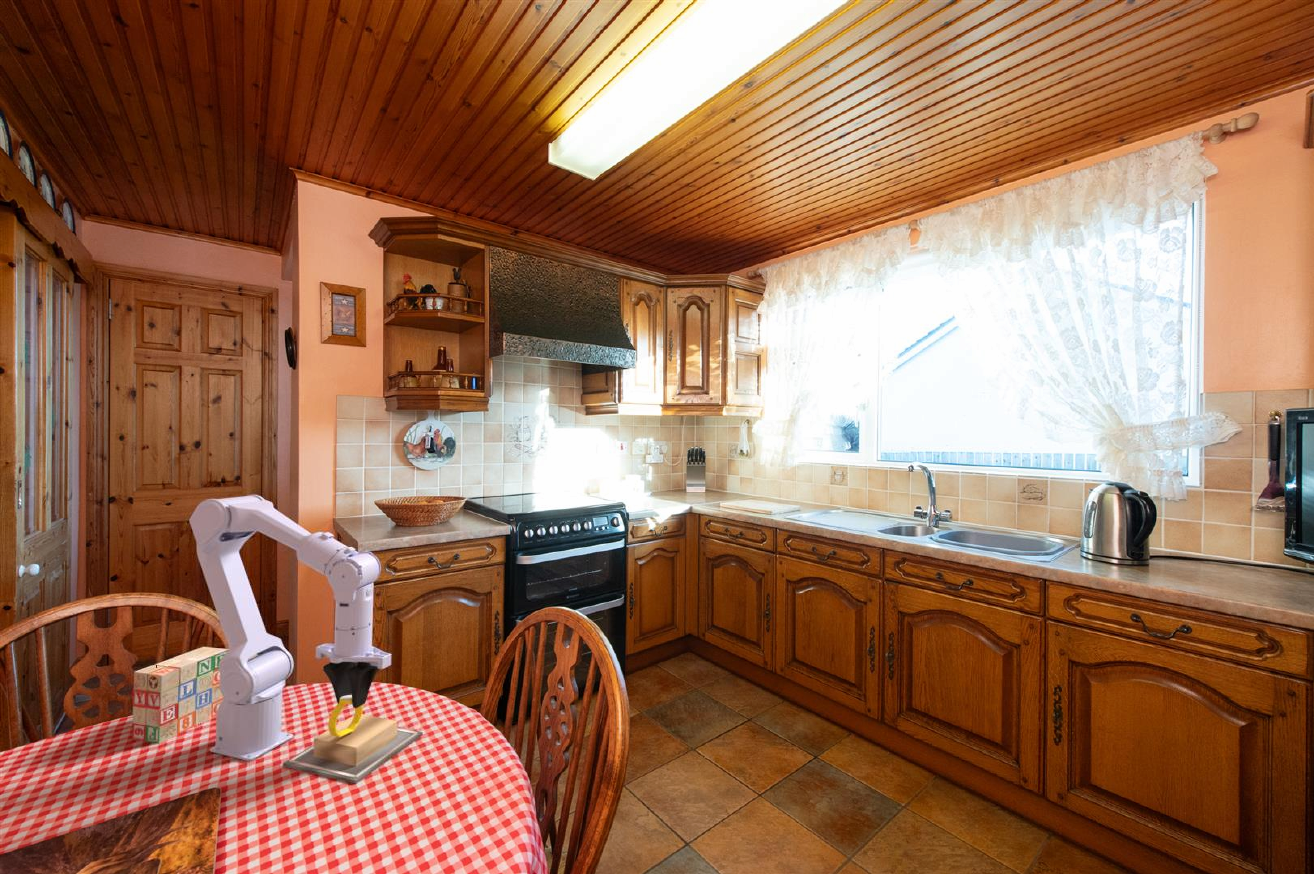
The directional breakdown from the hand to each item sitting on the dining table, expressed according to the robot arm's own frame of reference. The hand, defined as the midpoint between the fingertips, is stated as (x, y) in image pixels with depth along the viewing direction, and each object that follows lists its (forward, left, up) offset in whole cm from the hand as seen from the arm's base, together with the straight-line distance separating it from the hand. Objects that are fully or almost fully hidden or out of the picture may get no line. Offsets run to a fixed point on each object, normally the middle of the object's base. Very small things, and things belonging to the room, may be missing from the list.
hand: (351, 703), depth 93 cm
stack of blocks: (-38, +2, -9) cm, 39 cm away
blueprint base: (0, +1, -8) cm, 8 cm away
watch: (0, -1, -5) cm, 5 cm away
